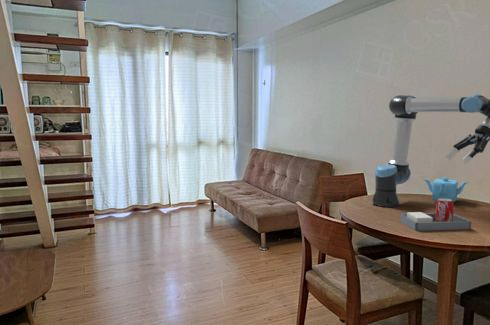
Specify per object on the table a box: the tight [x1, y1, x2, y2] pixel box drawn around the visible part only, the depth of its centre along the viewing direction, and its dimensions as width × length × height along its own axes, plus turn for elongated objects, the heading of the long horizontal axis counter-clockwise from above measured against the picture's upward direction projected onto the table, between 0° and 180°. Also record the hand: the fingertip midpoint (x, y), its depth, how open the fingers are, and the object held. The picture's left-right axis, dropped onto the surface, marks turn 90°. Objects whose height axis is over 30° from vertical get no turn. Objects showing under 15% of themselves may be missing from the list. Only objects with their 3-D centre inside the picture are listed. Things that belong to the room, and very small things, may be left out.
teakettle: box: [422, 177, 470, 205], centre depth 215 cm, size 19×19×15 cm
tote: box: [399, 212, 472, 232], centre depth 166 cm, size 25×16×4 cm, turn 91°
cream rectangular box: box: [406, 211, 433, 223], centre depth 166 cm, size 7×10×5 cm
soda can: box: [435, 198, 454, 222], centre depth 166 cm, size 7×7×12 cm
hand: (455, 160), depth 178 cm, fingers open, 13 cm apart
